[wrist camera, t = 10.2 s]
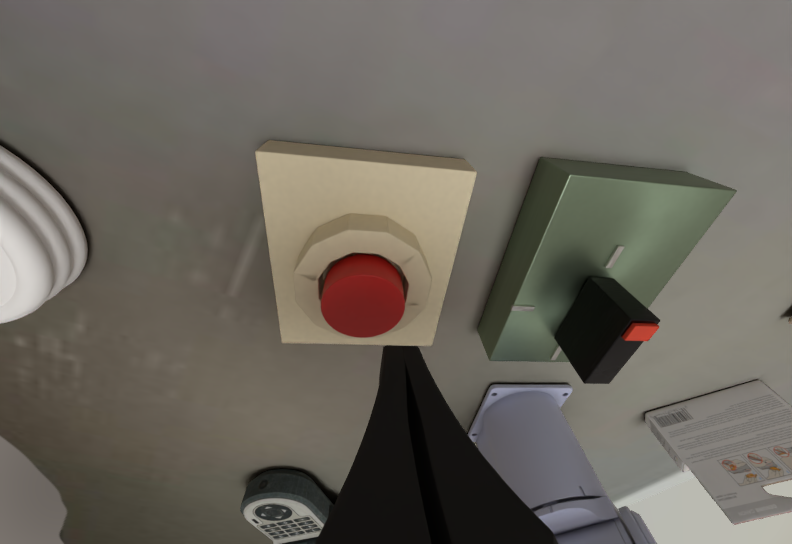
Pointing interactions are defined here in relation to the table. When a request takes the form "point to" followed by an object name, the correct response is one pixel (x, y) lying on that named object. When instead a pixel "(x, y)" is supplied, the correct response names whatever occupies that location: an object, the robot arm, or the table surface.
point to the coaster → (34, 240)
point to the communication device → (286, 506)
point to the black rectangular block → (604, 330)
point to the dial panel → (591, 246)
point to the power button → (363, 296)
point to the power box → (360, 230)
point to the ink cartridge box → (732, 446)
